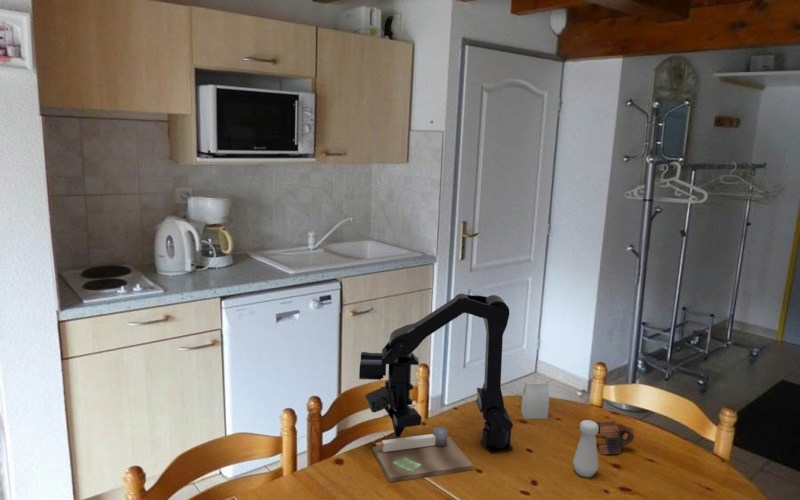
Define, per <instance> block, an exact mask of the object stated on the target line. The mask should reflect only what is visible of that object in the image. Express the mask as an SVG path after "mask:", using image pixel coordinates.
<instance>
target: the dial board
mask: <svg viewBox="0 0 800 500" xmlns="http://www.w3.org/2000/svg"><path fill="white" fill-rule="evenodd" d="M372 452H373V454H374V457H375V458H376V459H377V462H378V464H379V465H380V467H381V469H382V471H383V473H384V475H385V477H386V478H387V480H388V482H389V483H395V482H397V483H398V482H402V481H409V480H410V481H411V480H416V479H422V478H428V477H434V476H441V475H442V476H443V475H449V474H454V473H455V474H456V473H460V472H469V471H473V469H474V465H473V463H472V462H471V461H470V459H468V457H467V456H466V455H465V454H464V452H463V451H462V450H461V448H460V447H459V446H458V445H457V443H455V441H454V440H453V439H452V438H451V436H447V445H445V446H436V445H433V446H426V447H418V448H411V449H403V450H396V451H389V452H383V450H382V447H378V448H377V446H376V445H375V446H373V447H372Z"/></svg>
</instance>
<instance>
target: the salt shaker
mask: <svg viewBox="0 0 800 500" xmlns="http://www.w3.org/2000/svg"><path fill="white" fill-rule="evenodd" d="M579 431H580V432H581V434H580V437H579V438H580V439H579V442H578V444H577V448H576V451H575V452H574V453H575V454H574V457H573V461H572V462H573V468H574V470H575V473H576V474H577V475H579V476H580V477H584V478H591V477H593V476H594V475H595V474H596V472H597V470H598V468H599V461H598V459H599V458H598V446H597V437H596V436H597V434H598V431H599V427H598V425H597V423H595V421H593V420H589V419H585V420H582V421H581V422H580V423H579Z"/></svg>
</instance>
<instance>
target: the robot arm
mask: <svg viewBox="0 0 800 500" xmlns="http://www.w3.org/2000/svg"><path fill="white" fill-rule="evenodd" d="M464 314H469V315H472V316H475V317H478V318H481V319H483V322H484V326H485V332H486V333H485V356H484V357H485V359H484V382H483V385H482V387H477V388H476V393H477V398H476V400H475V403H476V405H477V408H478V410H479V413H481V415H482V418H483V420H484V421H485V422H484V424H483V425H484V427H483V428H482V433H481V438H480V443H481V444H482V445H483V446H484V447H485V448H486V449H487V450H488V452H490V453H491V454H492V453H500V452H509V451H512V450H514V447H513V445H511V439H512V438H511V436H512V435H511V434H512V429H513V427H514V424H513V421H512V420H511V417H510V415H509V413H508V411H507V408H506V407H505V404H504V403H505V402H504V397H503V392H502V388H501V387H502V386H501V385H502V384H501V383H502V363H503V362H502V358H503V343H504V342H503V337H504V333H505V331H506V329H507V326H508V322H509V318H510V314H511V313H510V308H509V306H508V305H507V304H506V302H505V301H504V299H503V298H502V297H501V296H499V295H496V294H493V295H492V294H491V295H488V296H486V295H485V296H484V295H477V294H474V295H472V294H465V293H459V294H456V295H455V296H454V297H453V298H452V299H450V300H449V301H447V302H446V303H444V304H443V305H441V306H440V307H438V308H437V309H435V310H434V311H432V312H431V313H429V314H427V315H426V316H424V317H423V318H420V320H418V321H416V322H414V323H411V324H410V323H409V324H406V325H404V326H401V327H399V328H397V329H394V330H393V331H392V332H391V333H390V334H389V338H388V339H389V340H388V342H387V343H386V345H384V347H383V348H382V349H381V352H368V351H361V353H360V362H359V368H358V369H359V374H358V375H359V377H358V378H359V380H372V381H373V380H374V381H375V380H376V381H377V380H378V381H379V380H380V381H381V380H382V379H384V377H386V376H387V365H388V377H387V380H385V382H384V386H380V388H377V389H375V390H372V391H370V392H368V393H367V394H365V396H364V397H365V401H366V402H367V405H368V408H369V409H370V411H371V412H372V413H377V412H380V411H383V410H385V411H386V413H387V415H388V417H389V418H390V419H391V422H392V423H391V424H392V427H393V432H394V436H395V437H396V438H401V435H402V433H403V432H404V430H405V428H408V427H410V428H411V427H416V426H421V425H422V418H423V417H422V416H421V414H420V413H419V411H417V409H416V408H414V407H411V406H412V405H413V400H412V399H411V390H412V391H413V390H414V385H413V384H412V383H411V382H412V381H411V380H412V379H411V378H412V366H418V365H420V363H419V362H420V361H419V357H417V356H416V355H415V354H414V351H415V350H416V349H417V348H418V347H419V346H420V345H421V344H422V342H423V341H424V340H425V339H426V338H427V337H428V336H430V335H432V334H433V333H435V332H436V331H438V330H439V329H442V328H443V327H444V326H446V325H447V324H448V323H451V322H452V321H453V320H455V319H457V318H458V317H459V316H461V315H464Z"/></svg>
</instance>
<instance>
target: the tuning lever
mask: <svg viewBox="0 0 800 500" xmlns="http://www.w3.org/2000/svg"><path fill="white" fill-rule="evenodd" d="M447 437H448V429H447V428H446V427H443V426H436V427H434V428H433V432H432V433H429V434H423V435H422V434H421V435H414V436H406V437H405V436H404V437H396V438H390V439H383V440H381V441H379V442H376V443H375V444H376V445H375V446H377V448H378V447H382V450H383V452H389V451H396V450H403V449H411V448H418V447H426V446H433V445H436V446H445V445H447Z"/></svg>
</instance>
